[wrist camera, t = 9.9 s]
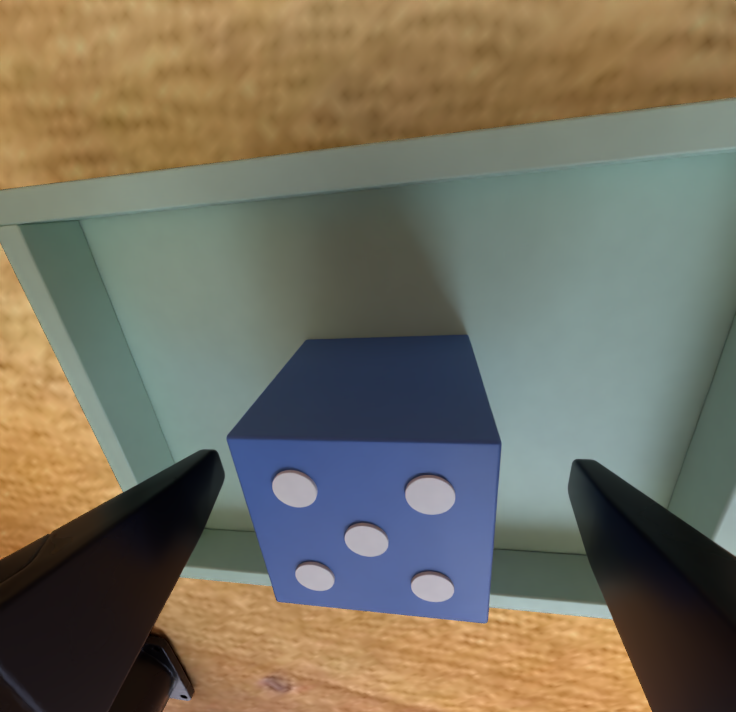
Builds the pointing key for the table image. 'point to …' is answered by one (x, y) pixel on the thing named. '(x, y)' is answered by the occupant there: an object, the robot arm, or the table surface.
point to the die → (375, 477)
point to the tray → (420, 310)
